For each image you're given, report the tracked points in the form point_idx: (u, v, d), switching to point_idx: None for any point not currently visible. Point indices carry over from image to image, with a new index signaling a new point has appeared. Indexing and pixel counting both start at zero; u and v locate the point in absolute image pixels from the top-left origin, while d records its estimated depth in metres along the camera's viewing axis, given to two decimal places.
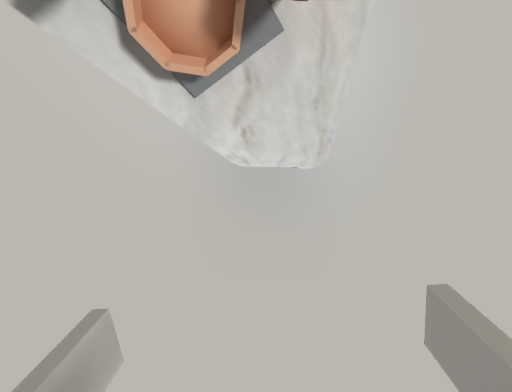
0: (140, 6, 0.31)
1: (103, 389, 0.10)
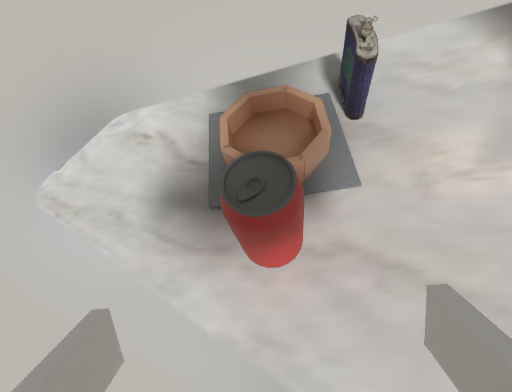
0: (294, 110, 0.36)
1: (104, 389, 0.10)
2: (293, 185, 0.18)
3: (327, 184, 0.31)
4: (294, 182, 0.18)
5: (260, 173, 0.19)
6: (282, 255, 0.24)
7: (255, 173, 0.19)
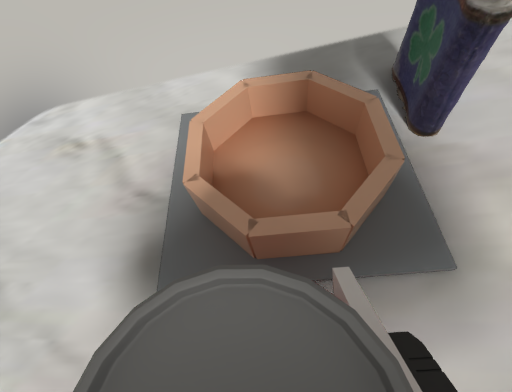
0: (322, 115, 0.21)
1: None
2: None
3: (387, 262, 0.16)
4: None
5: (247, 390, 0.04)
6: None
7: (224, 391, 0.04)
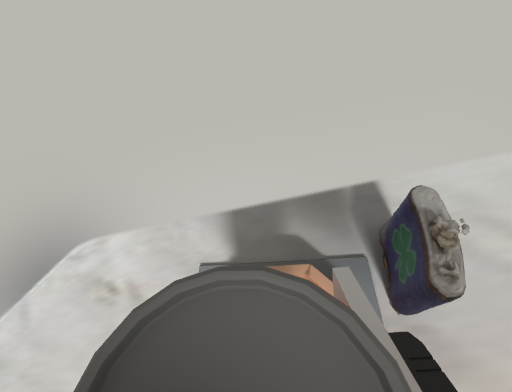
0: None
1: None
2: None
3: None
4: None
5: (246, 391, 0.04)
6: None
7: (224, 391, 0.04)
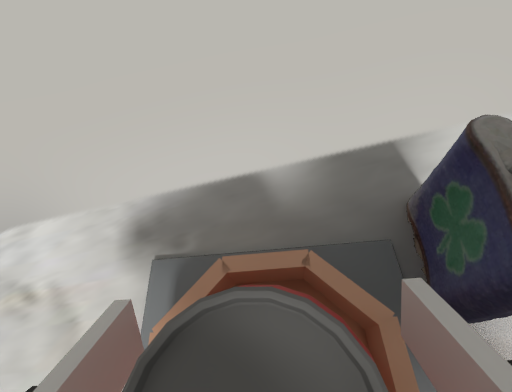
0: (322, 294, 0.17)
1: (127, 376, 0.11)
2: None
3: None
4: None
5: (259, 388, 0.05)
6: None
7: (242, 388, 0.05)
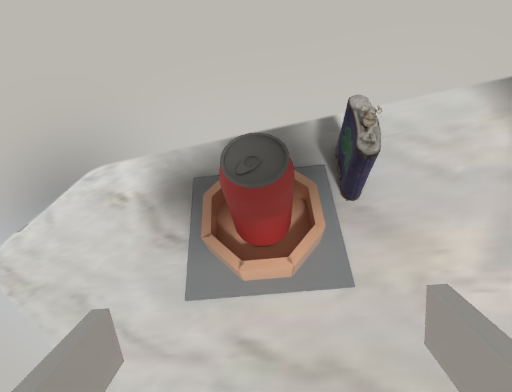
0: None
1: (104, 389, 0.10)
2: (286, 163, 0.20)
3: (317, 282, 0.28)
4: (287, 160, 0.20)
5: (256, 152, 0.22)
6: (272, 232, 0.26)
7: (252, 152, 0.22)
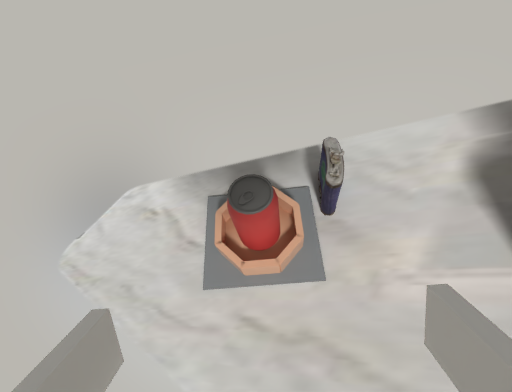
0: None
1: (104, 389, 0.10)
2: (270, 197, 0.31)
3: (299, 277, 0.38)
4: (271, 195, 0.31)
5: (252, 188, 0.32)
6: (265, 241, 0.37)
7: (249, 188, 0.32)
